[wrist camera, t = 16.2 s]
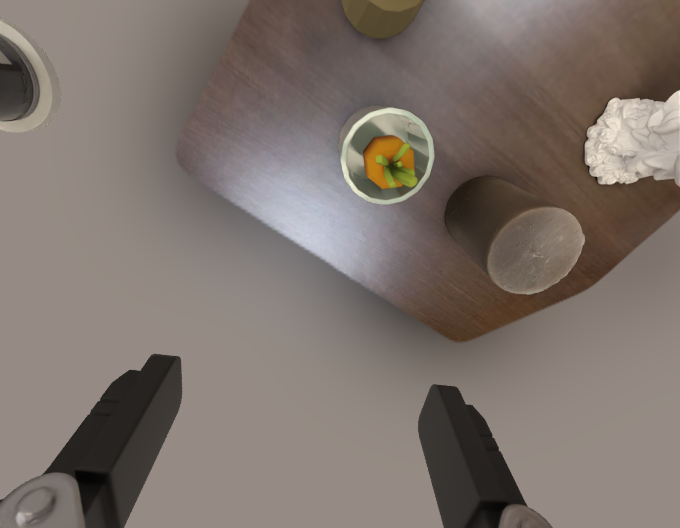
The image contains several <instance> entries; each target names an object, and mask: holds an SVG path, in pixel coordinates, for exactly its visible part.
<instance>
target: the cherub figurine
mask: <svg viewBox="0 0 680 528" xmlns="http://www.w3.org/2000/svg"><path fill="white" fill-rule="evenodd" d="M587 137H588V140H587V141H586V142H585V164H586V165H588V166H590V169H589V172H590V174H591V175H592V176H594V177H598V183H599V184H609V185H610V184H613V183H615V182H619V183H623V182H625V184H629V183H633V182H635V181H637V180H638V178H643V177H647V176H653V175H654V179H655V180H664V179H673V178H675V183H676V184H677V185H678V186H679V187H680V90H679V91H677V92H675V93H674V94H673V95H672V96H671V97H670V98H669V99H668V100H667V101H666V102H660V101H655V102H654V101H653V100H649V99H643V100H641V101H640V98H636V99H626V100H624V99H623V100H619V98H614V99H612V100H610V101H609V102H608V105H607V107H606V109H605V111H604V113H603V115H602V116H601V117H600V118H599V119H598V120H597V123H596V125H594V126H591V127H589V128H588V130H587Z"/></svg>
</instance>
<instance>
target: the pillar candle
mask: <svg viewBox="0 0 680 528" xmlns="http://www.w3.org/2000/svg"><path fill="white" fill-rule="evenodd" d="M445 223H446V227H447V229H448V231H449V233H450V234H451V236H452V237H453V238H454V239H455V240H456V241H457V242H458V243H459V244H460V246H461V247H462V248H463V249H464V250H465V251H466V252H467V253H468V254H469V255H470V256H471V258H472V259H473V260H474V261H475V262H476V263H477V264H478V265H479V266H480V267H481V268H482V270H483V271H484V272H485V273H486V274H487V275H488V276H489V277H490V278H491V279H492V280H493V282H494V283H495V284H497V285H498V286H499V287H501V288H502V289H504V290H506V291H509V292H511V293H517V294H528V295H530V294H533V293H538V292H541V291H543V290H544V289H547V288H548V287H550V286H551V285H553V284H555V283H558V282H559V281H560V279H562V278H563V277H565V276H566V275H567V274H568V272H569V271H570V270H571V269H572V267H573V266H574V265H575V263H576V261H577V260H578V257H579V255H580V253H581V250H582V246H583V244H584V242H585V236H584V235H583V234H582V229H581V226H580V224H579V222H578V221H577V219H576V218H575V217H574V216H573V215H572V214H570V213H569V212H567V211H566V210H563V209H561V208H559V207H557V206H555V205H553V204H551V203H549V202H547V201H545V200H543V199H541V198H539V197H537V196H535V195H533V194H531V193H529V192H527V191H525V190H523V189H521V188H519V187H517V186H515V185H513V184H511V183H509V182H507V181H505V180H504V179H501V178H498V177H490V176H485V177H478V178H474V179H472V180H470V181H468V182H466V183H465V184H463V185H462V186H460V187H459V188H458V189H457V190H456V191H455V192H454V194H453V195H452V196H451V198H450V199H449V201H448V203H447V208H446V212H445Z"/></svg>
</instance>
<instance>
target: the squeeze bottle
mask: <svg viewBox="0 0 680 528" xmlns="http://www.w3.org/2000/svg"><path fill="white" fill-rule="evenodd" d="M341 1H342V5H343V9H344V13H345V15H346V16H347V18H348V19H349V21H350V22H351V23H352V25H353V26H354V28H355V29H356V30H358V31H360V32H361V33H363V34H364V35H366V36H368V37H370V38H381V39H386V38H388V37H391V36H394V35H396V34H399V33H401V32H402V31H403V30H404V29H405V28H406V27H407V26H408V25H409V24H410V23H411V22H412V21H413V20H414V18H415V16H416V15H417V13H418V11H419V9H420V8H421V6H422V4H423V2H424V1H425V0H341Z"/></svg>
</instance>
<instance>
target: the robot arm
mask: <svg viewBox="0 0 680 528" xmlns="http://www.w3.org/2000/svg"><path fill="white" fill-rule="evenodd" d="M39 97H40V88H39V82H38V78H37V75H36V73H35V70H34V68H33V66H32V64H31V63H30V61H29V60H28V58H27V57H26V55H25V54H24V53H23V52H22V51H21V49H20V48H19V47H18V46H17V45H16V44H14V43H13V42H12V41H11V40H10V39H8V38H7V37H5V36H4V35H2V34H0V121H17V120H22V119H24V118H26V117H28V116H29V115H31V114H32V113H33V112H34V110H35V109H36V107H37V105H38V102H39ZM181 399H182V374H181V359H180V357H178V356H169V355H160V354H153V355H151V356H150V358H149V359H148V360H147V362H146V363H145V365H144V366H143V368H142V369H141V371H136V370H129V371H127V372H126V373H125V374H123V375H122V376H120V377H119V378H118V379H116V380H115V381H114V382H112V383H111V385H110V386H109V388H108V389H107V390H106V391H105V393H104V394H103V395H102V397H101V399H100V401H98V402H97V404H96V405H95V406H94V408H93V409H92V410H91V413H90V415H88V416H87V417H86V418H85V420H84V421H83V422H82V424H81V425H80V426H79V428H78V429H77V431H76V432H75V433H74V434H73V436H72V437H71V438H70V440H69V441H68V442H67V444H66V445H65V447H64V448H63V449H62V451H61V452H60V453H59V454H58V456H57V457H56V458H55V460H54V461H53V463H52V464H51V465H50V467H49V468H48V469H47V470H46V471H45V473H43V474H42V475H41V476H38V477H36V478H33V479H31V480H29V481H27V482H25V483H24V484H22V485H20V486H19V487H17V488H16V489H14V490H13V491H12V492H11V493H10V494H8V495H7V496H6V497H5V498H4V499H2V500H0V528H124V526H125V524H126V522H127V520H128V518H129V515H130V513H131V511H132V509H133V507H134V505H135V503H136V501H137V498H138V496H139V494H140V492H141V490H142V488H143V485H144V484H145V481H146V479H147V477H148V475H149V473H150V471H151V469H152V466H153V464H154V462H155V460H156V458H157V456H158V454H159V451H160V449H161V447H162V445H163V443H164V441H165V439H166V437H167V434H168V432H169V430H170V428H171V426H172V424H173V421H174V419H175V417H176V415H177V413H178V410H179V407H180V404H181ZM418 432H419V438H420V441H421V445H422V449H423V452H424V456H425V460H426V463H427V467H428V471H429V474H430V478H431V482H432V486H433V489H434V493H435V497H436V500H437V504H438V508H439V511H440V515H441V518H442V522H443V526H444V528H552V526H551V525H550V524H549V523H548V522H547V520H546V519H545V518H544V517H542V516H541V515H540V514H539V513H537V512H536V511H534V510H533V509H531V508H529V507H528V506H527V504H526V503H525V501H524V499H523V497H522V495H521V493H520V491H519V489H518V486H517V485H516V482H515V480H514V478H513V476H512V474H511V472H510V470H509V468H508V466H507V464H506V462H505V460H504V458H503V456H502V454H501V452H500V451H499V447H498V446H497V443H496V441H495V439H494V438H492V433H491V431H490V429H489V427H488V425H487V423H486V421H485V419H484V418H483V417H482V416H481V415H480V413H479V412H478V411H477V410H476V409H475V408H474V407H473V406H472V405H466V404H465V402H464V400H463V398H462V395H461V393H460V391H459V390H458V388H457V387H454V386H445V385H435V384H434V385H432V386H431V388H430V390H429V393H428V395H427V398H426V400H425V403H424V406H423V408H422V411H421V413H420V416H419V421H418Z"/></svg>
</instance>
